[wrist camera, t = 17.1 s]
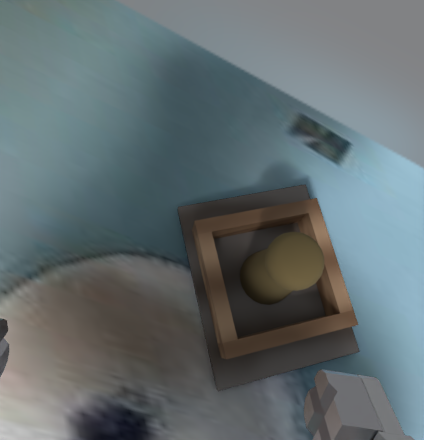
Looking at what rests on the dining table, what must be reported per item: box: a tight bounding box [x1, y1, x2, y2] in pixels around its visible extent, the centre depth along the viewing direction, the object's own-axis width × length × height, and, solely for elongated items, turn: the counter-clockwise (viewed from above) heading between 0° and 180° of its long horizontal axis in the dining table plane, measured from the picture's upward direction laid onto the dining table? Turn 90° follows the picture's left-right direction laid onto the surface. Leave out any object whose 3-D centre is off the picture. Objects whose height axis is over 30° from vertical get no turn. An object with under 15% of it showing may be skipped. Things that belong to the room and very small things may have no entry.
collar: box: [178, 184, 360, 391], centre depth 41 cm, size 20×16×4 cm
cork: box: [240, 232, 324, 305], centre depth 37 cm, size 6×6×11 cm
